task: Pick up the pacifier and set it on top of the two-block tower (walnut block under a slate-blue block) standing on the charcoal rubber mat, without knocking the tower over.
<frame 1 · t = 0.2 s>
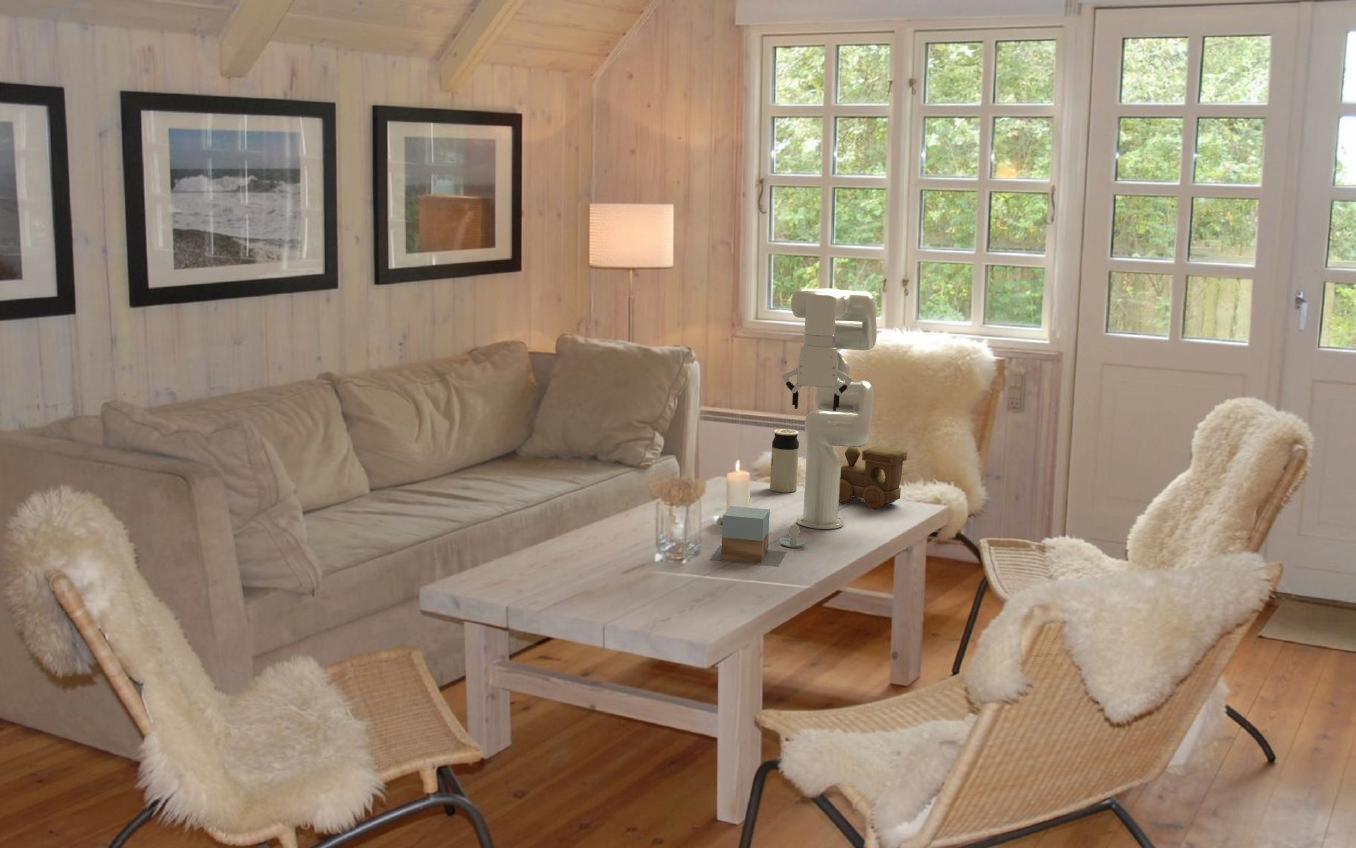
hand: (815, 409, 354), 36 cm above the table, tool pointing down, fingers open, 9 cm apart
top block: (745, 533, 347), point 6 cm above the table, touching bottom block
wooden toy train: (865, 504, 409), on the table
mat: (748, 557, 348), on the table
bottom block: (744, 555, 348), resting on mat, touching top block
travel mug: (783, 490, 422), on the table
pacifier: (791, 550, 357), on the table
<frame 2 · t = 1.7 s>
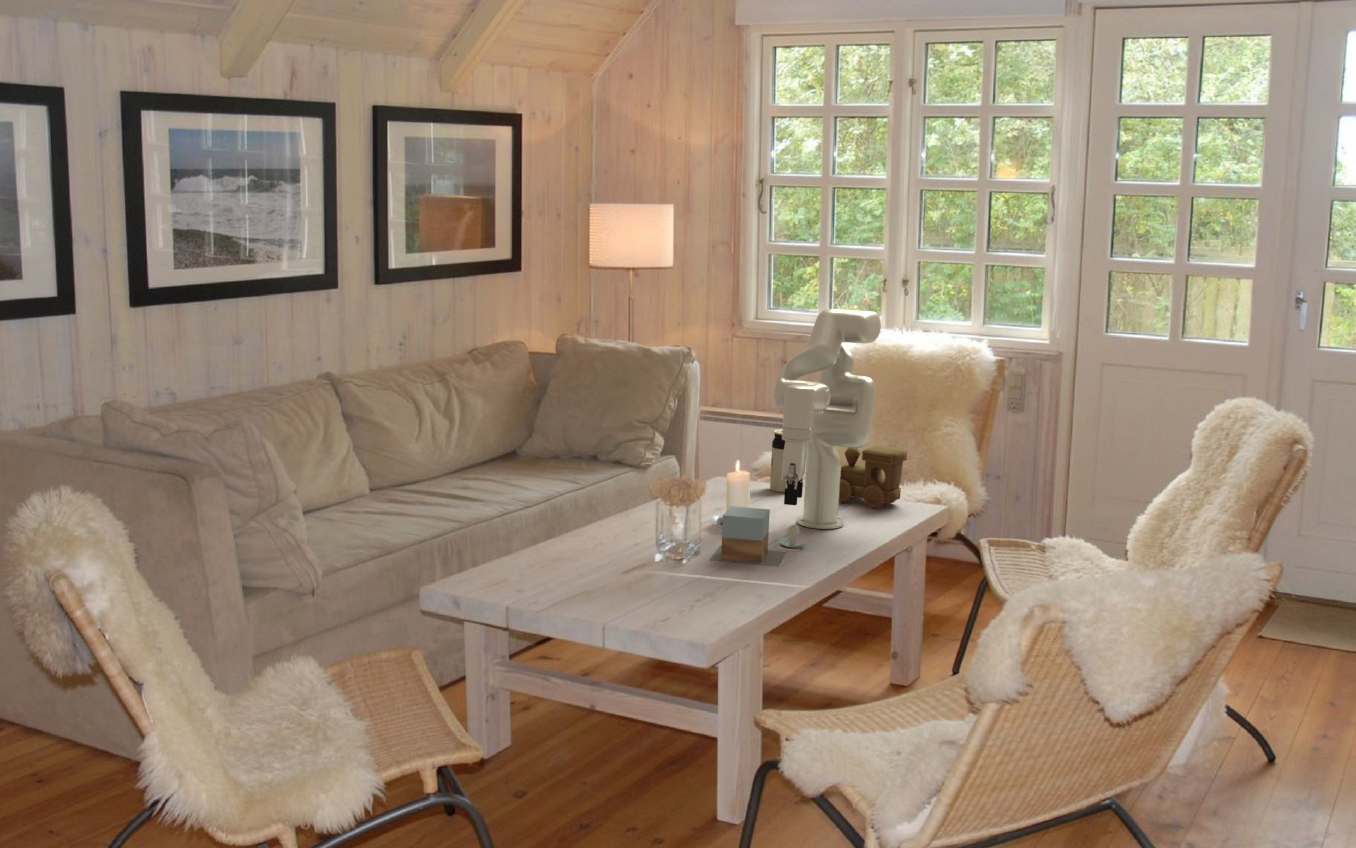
hand: (793, 500, 355), 13 cm above the table, tool pointing down, fingers open, 9 cm apart
nothing on the table moved.
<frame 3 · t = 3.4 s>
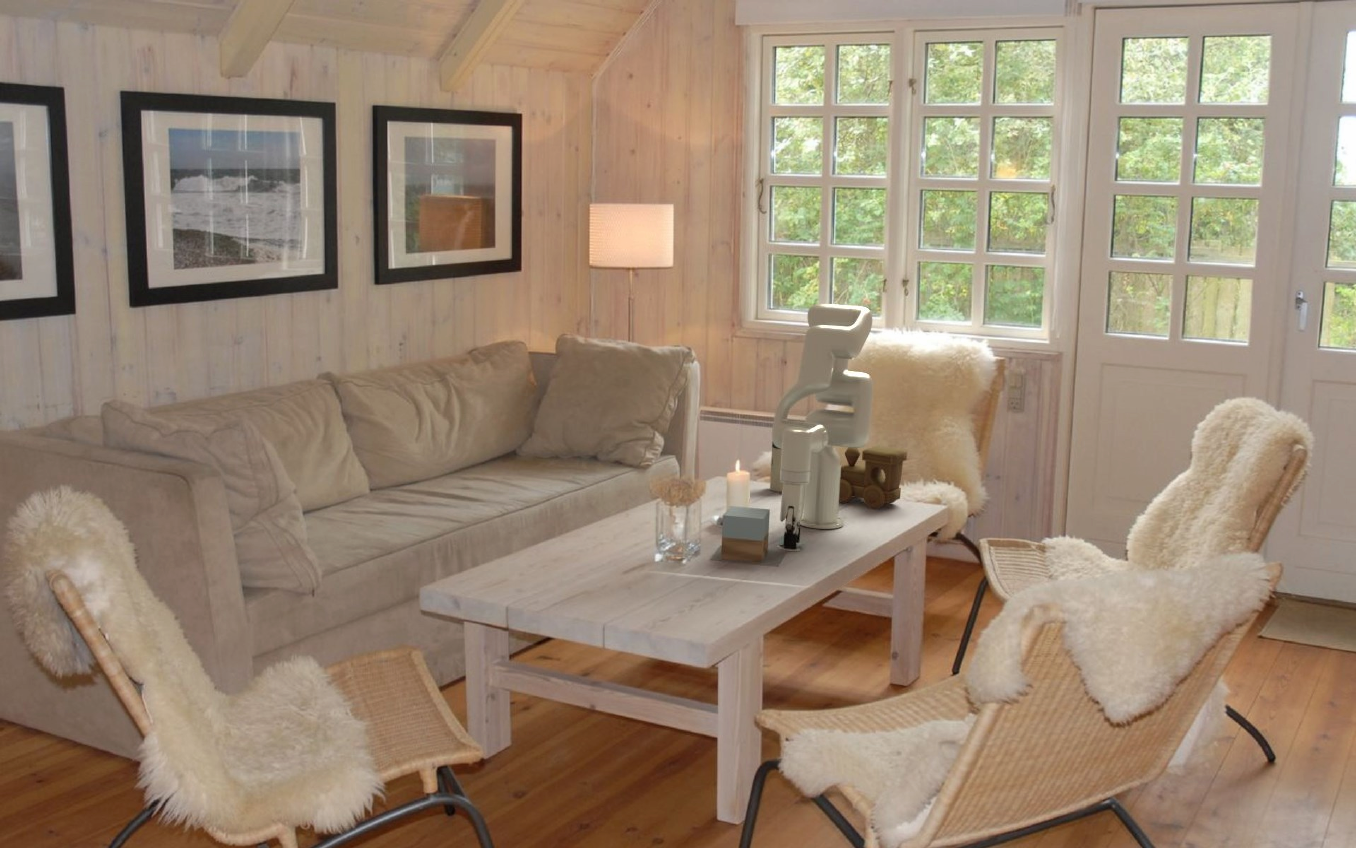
hand: (791, 544, 357), 1 cm above the table, tool pointing down, fingers closed on pacifier, 5 cm apart
pacifier: (790, 550, 357), on the table, touching gripper
everything else where it was.
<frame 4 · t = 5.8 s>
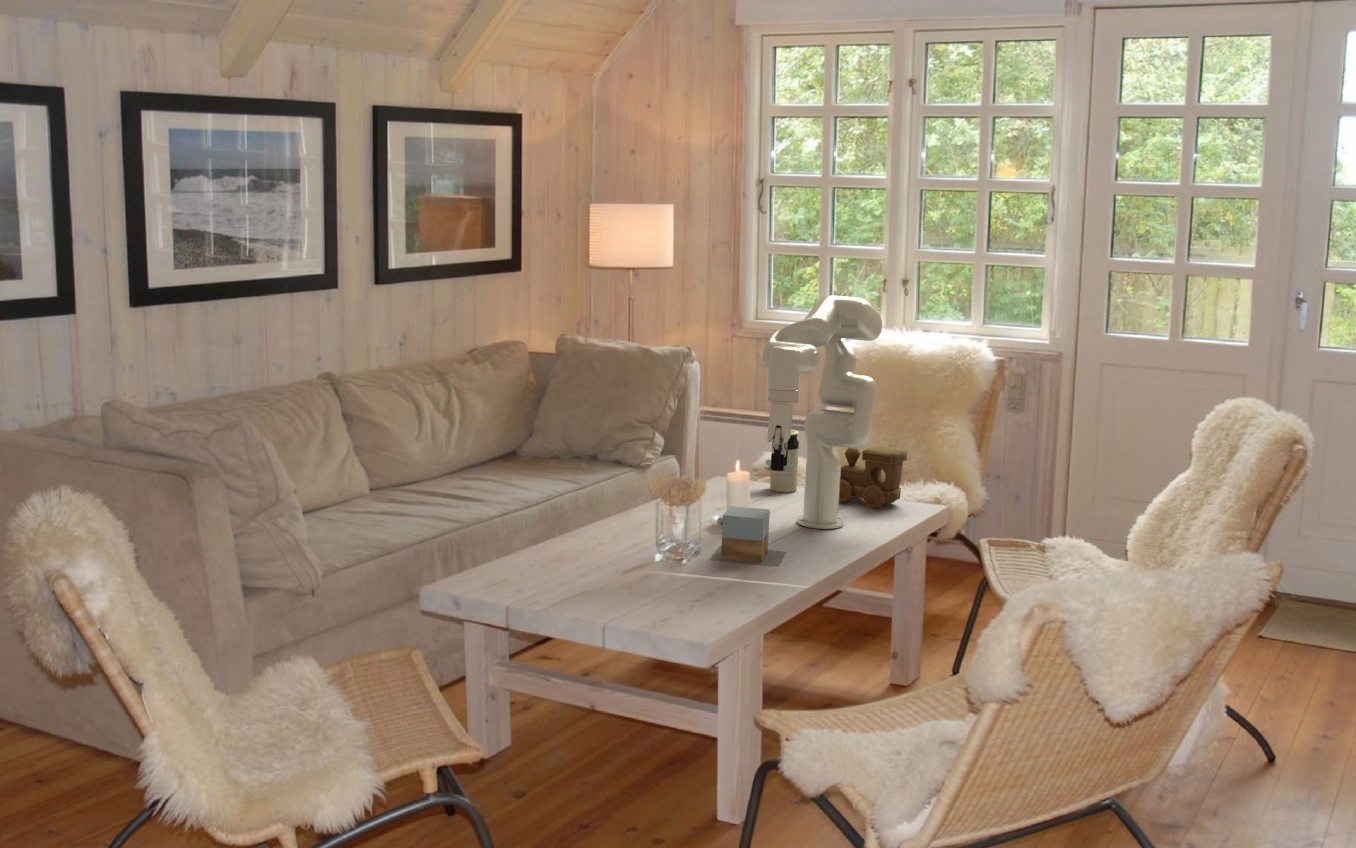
hand: (778, 467, 350), 22 cm above the table, tool pointing down, fingers closed on pacifier, 5 cm apart
pacifier: (777, 472, 349), point 21 cm above the table, touching gripper
everything else where it was.
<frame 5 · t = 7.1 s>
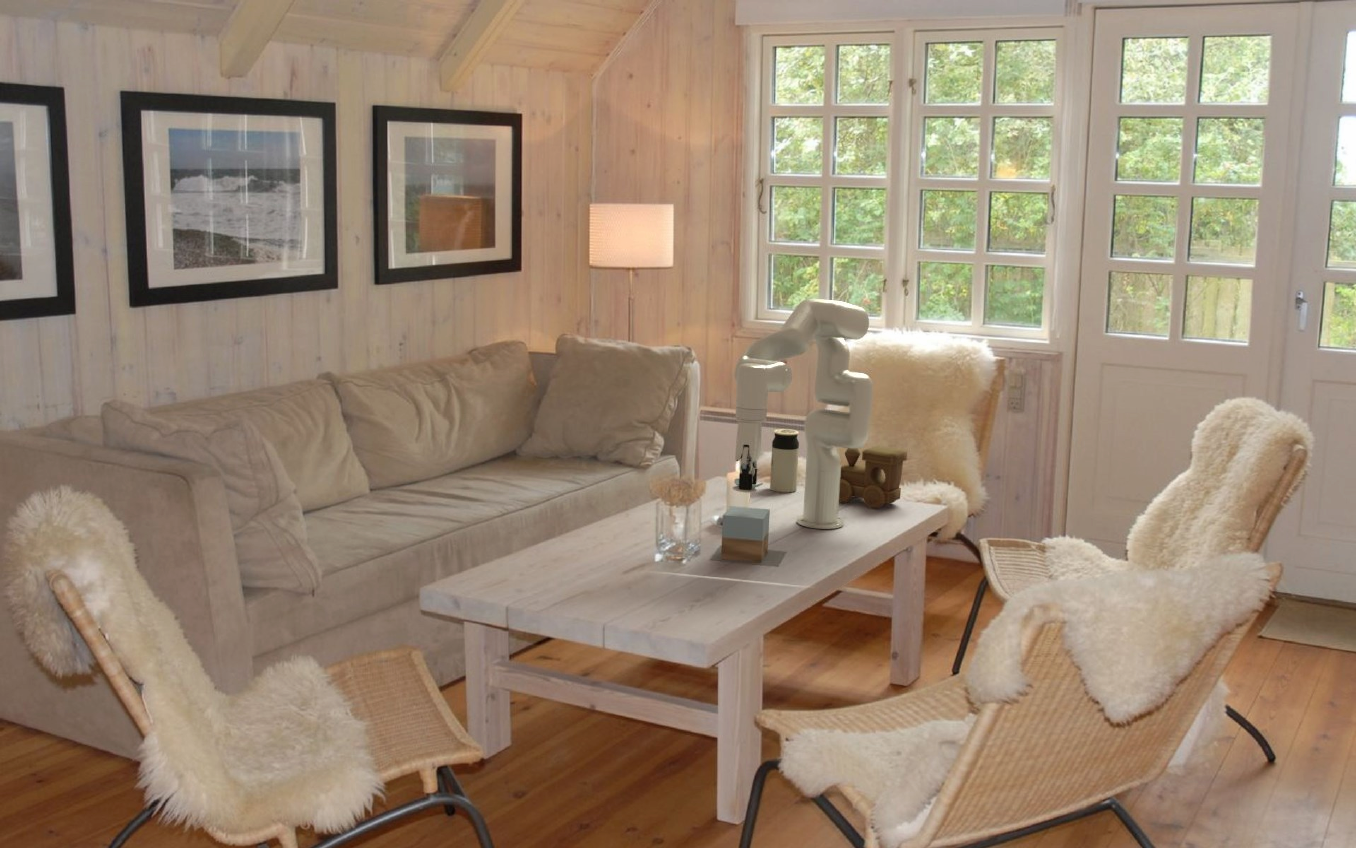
hand: (747, 486, 345), 18 cm above the table, tool pointing down, fingers closed on pacifier, 5 cm apart
pacifier: (746, 491, 344), point 17 cm above the table, touching gripper
everything else where it was.
when the fingers open (14 cm above the table, at t = 8.2 s): pacifier drops 1 cm, resting on top block.
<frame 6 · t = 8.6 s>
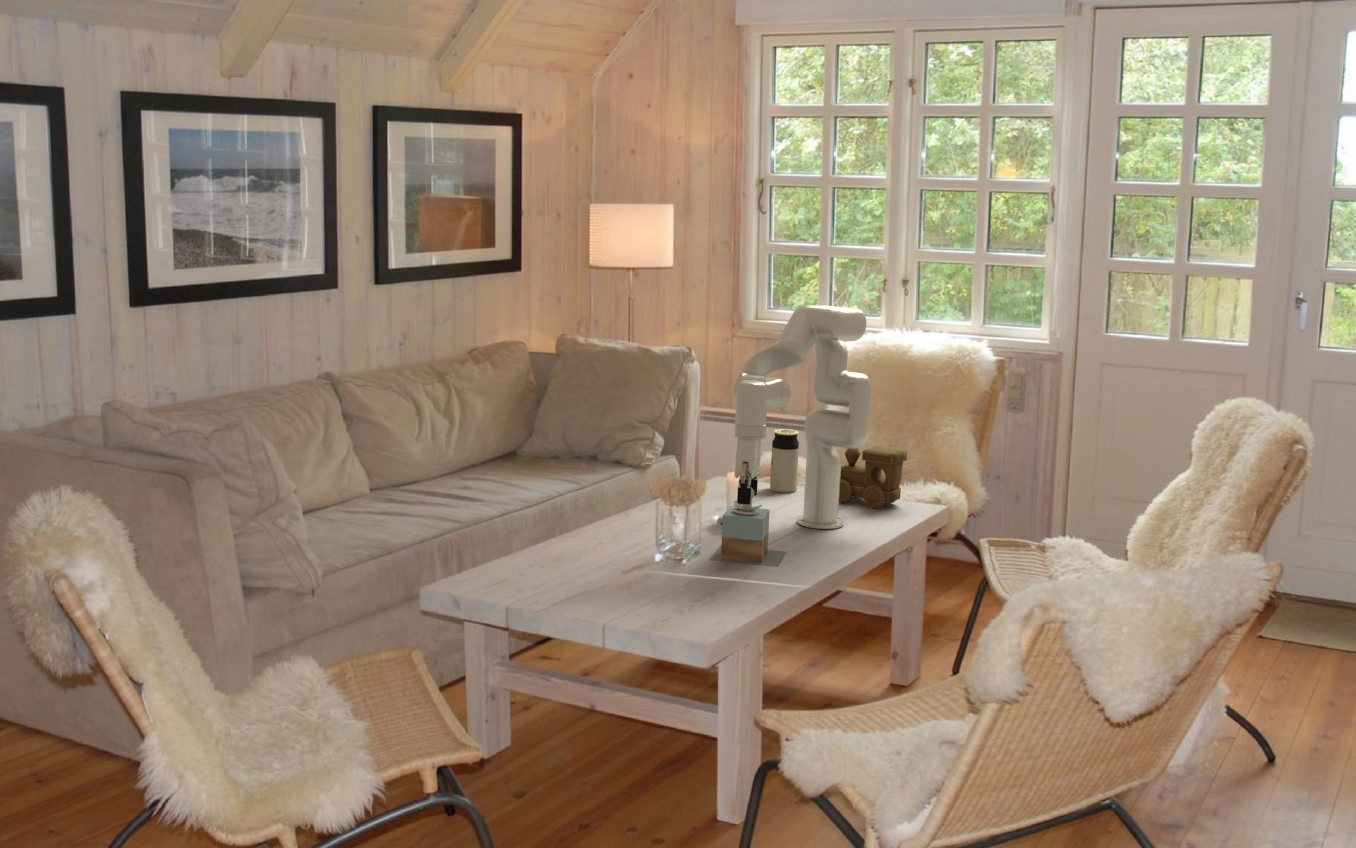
hand: (747, 499, 345), 15 cm above the table, tool pointing down, fingers open, 9 cm apart
top block: (745, 533, 347), point 6 cm above the table, touching bottom block, pacifier
pacifier: (745, 513, 345), point 11 cm above the table, touching top block
everything else where it was.
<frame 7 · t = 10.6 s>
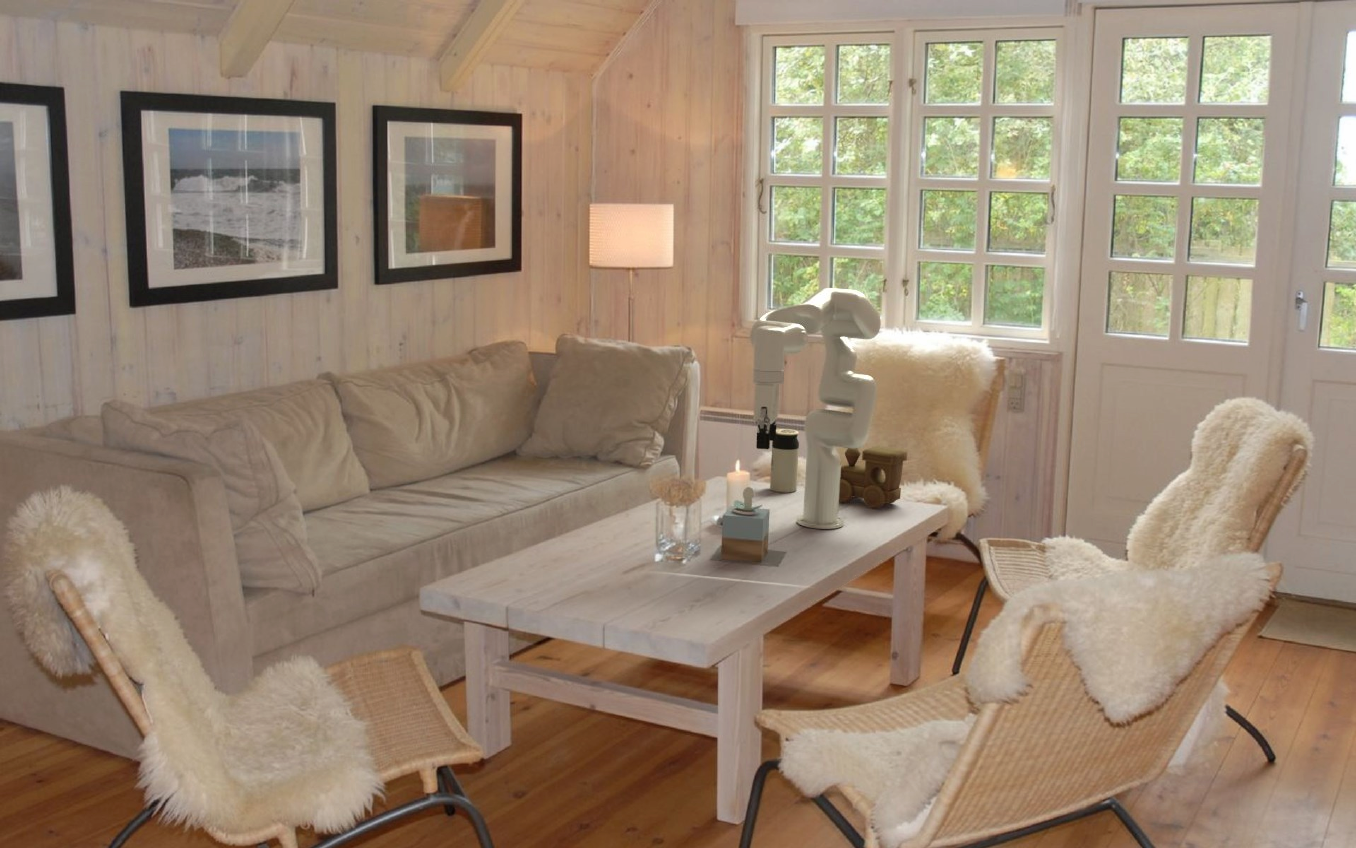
hand: (766, 444, 349), 28 cm above the table, tool pointing down, fingers open, 9 cm apart
nothing on the table moved.
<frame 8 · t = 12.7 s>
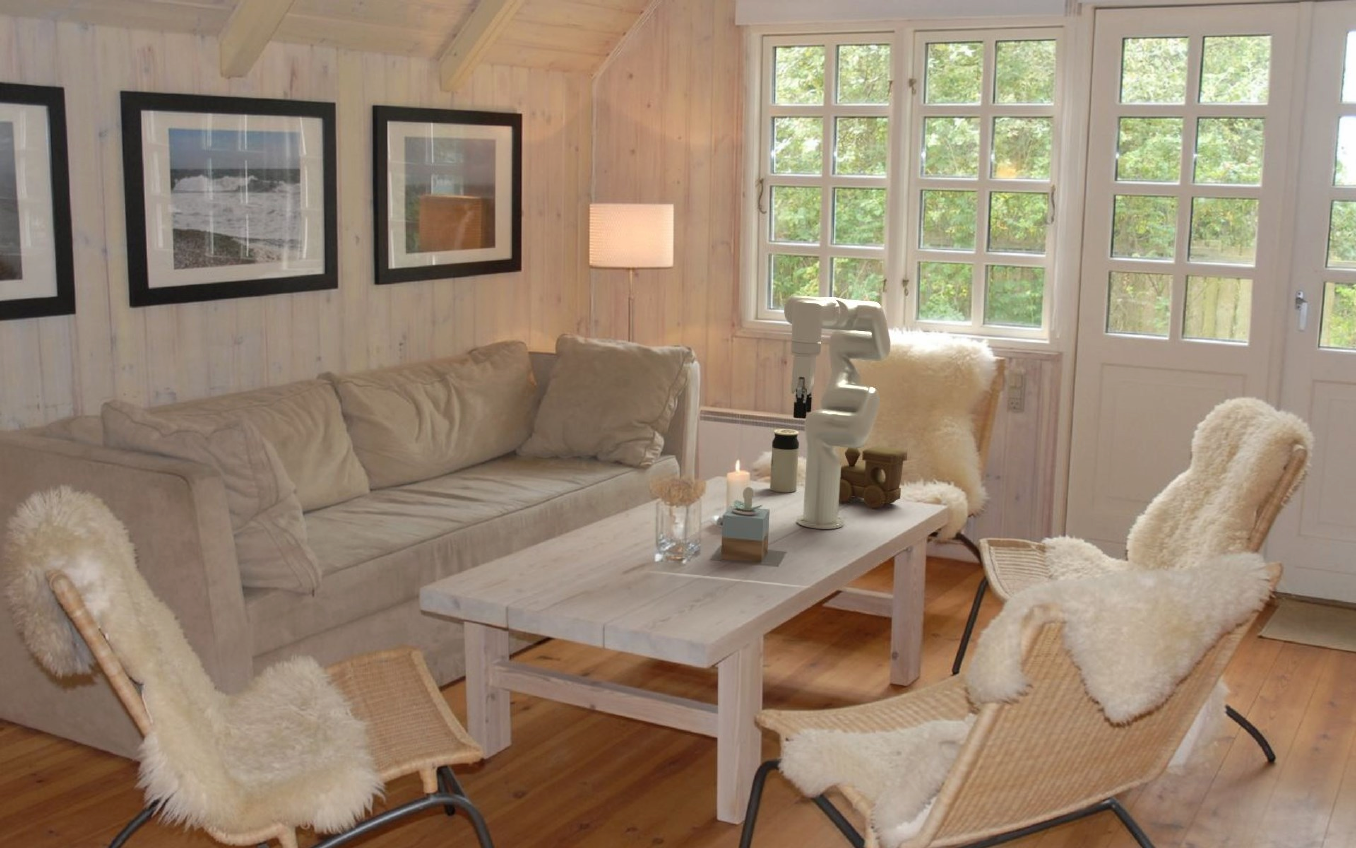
hand: (802, 414, 359), 33 cm above the table, tool pointing down, fingers open, 9 cm apart
nothing on the table moved.
at the end: pacifier 0.5 cm off-centre on the top block, point 5.3 cm above the top block's base; top block 0.0 cm off-centre on the bottom block, point 5.5 cm above the bottom block's base; bottom block tilted 0° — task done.
